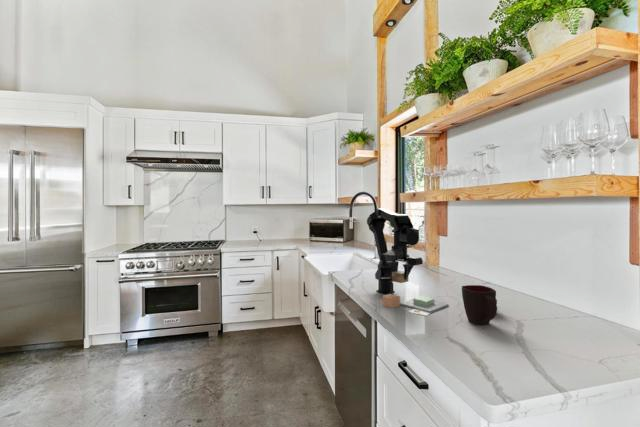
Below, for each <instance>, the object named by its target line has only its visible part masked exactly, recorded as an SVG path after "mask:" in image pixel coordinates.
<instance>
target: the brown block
mask: <svg viewBox="0 0 640 427" xmlns="http://www.w3.org/2000/svg"><path fill="white" fill-rule="evenodd" d="M392 281H393V282H394V283H400V284H403V283H408V282H409V277H408V278H407V280H405V278H404V270H398V271H395V272H392Z"/></svg>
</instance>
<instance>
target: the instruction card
mask: <svg viewBox="0 0 640 427" xmlns="http://www.w3.org/2000/svg"><path fill="white" fill-rule="evenodd" d="M408 313H410V314H416V315H420V316H425V317H427V316H428V315H430V314H431V313H429V312H425V311H421V310H418V309H413V308H412V309H411V310H409V311H408Z"/></svg>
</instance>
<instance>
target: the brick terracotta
mask: <svg viewBox="0 0 640 427" xmlns="http://www.w3.org/2000/svg"><path fill="white" fill-rule="evenodd" d="M400 303H401V296H400V295H397V294H392V293H389V294H384V295H382V306H383V307H388V308H391V309H393V308H396V307H400V306H401V305H400Z"/></svg>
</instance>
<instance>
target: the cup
mask: <svg viewBox="0 0 640 427" xmlns="http://www.w3.org/2000/svg"><path fill="white" fill-rule="evenodd" d="M461 295H462V301H463V302H462V303H463V308H464V312H465V314H466V318H467V321H468V322H469V323H471V324H472V325H475V326H487V325H490V322H491V320H493V319H494V318H495V317H496V315H497V313H498V306H497V305H496V302H495V300H496V299H497V290H495V289H494V288H492V287H489V286H486V285H485V286H484V285H479V284H477V285H476V284H474V285H473V284H471V285H469V284H468V285H462V286H461Z"/></svg>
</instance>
